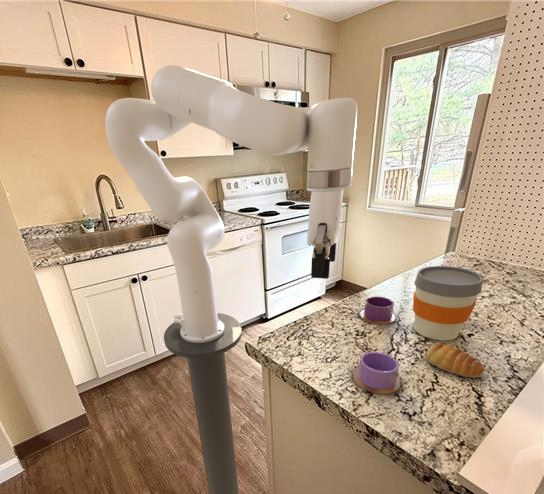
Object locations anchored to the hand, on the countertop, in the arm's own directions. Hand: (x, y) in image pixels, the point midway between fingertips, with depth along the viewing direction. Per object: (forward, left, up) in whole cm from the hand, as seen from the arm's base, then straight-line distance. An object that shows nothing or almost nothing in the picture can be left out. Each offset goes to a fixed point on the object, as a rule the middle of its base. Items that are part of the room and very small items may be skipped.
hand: (323, 268), depth 63 cm
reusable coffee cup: (+25, +20, -22) cm, 39 cm away
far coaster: (+12, +24, -22) cm, 35 cm away
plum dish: (+12, +24, -22) cm, 35 cm away
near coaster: (+12, -4, -22) cm, 26 cm away
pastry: (+26, +6, -22) cm, 35 cm away
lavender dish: (+12, -4, -22) cm, 25 cm away
